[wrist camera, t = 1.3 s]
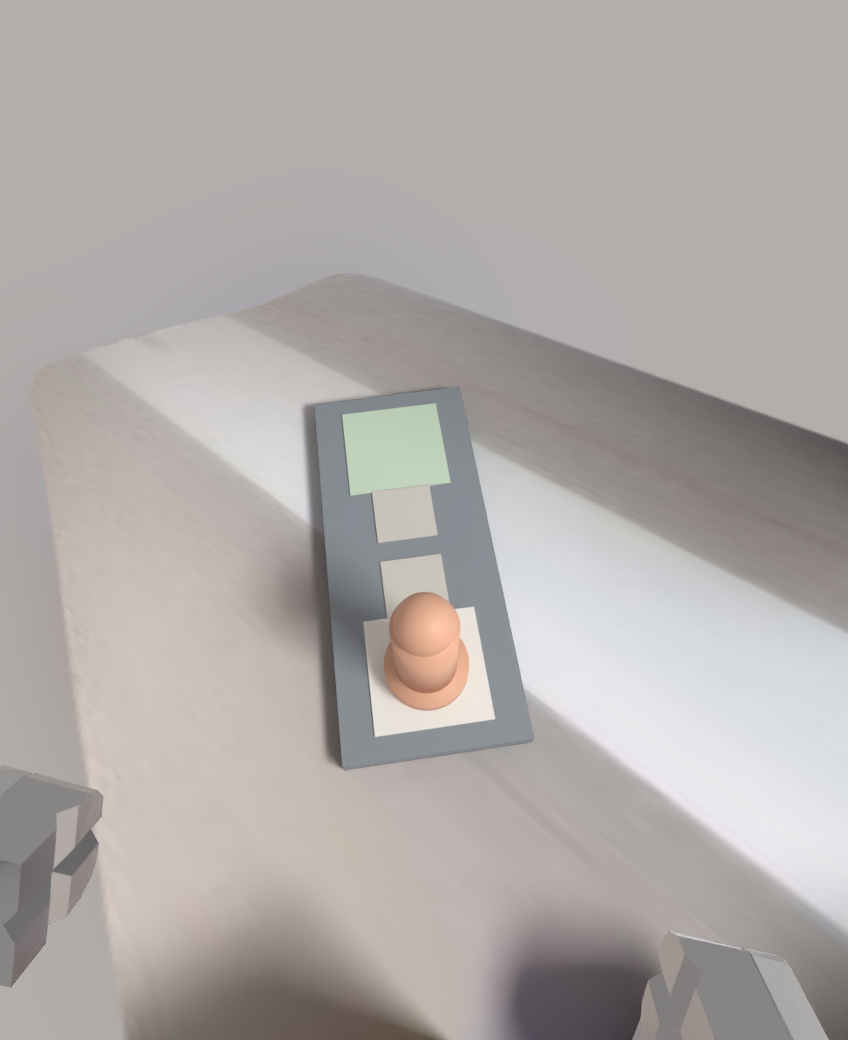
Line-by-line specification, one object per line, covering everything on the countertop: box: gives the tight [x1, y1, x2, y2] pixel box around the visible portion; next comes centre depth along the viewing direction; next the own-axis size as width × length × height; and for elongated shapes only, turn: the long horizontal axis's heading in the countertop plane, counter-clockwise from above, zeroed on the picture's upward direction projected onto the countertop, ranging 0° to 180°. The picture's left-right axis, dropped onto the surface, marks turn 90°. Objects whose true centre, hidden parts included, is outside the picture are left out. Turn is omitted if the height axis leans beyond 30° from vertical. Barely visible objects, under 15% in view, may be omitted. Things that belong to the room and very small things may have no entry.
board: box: [314, 387, 534, 770], centre depth 44 cm, size 11×26×1 cm, turn 8°
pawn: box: [384, 592, 469, 711], centre depth 36 cm, size 5×5×9 cm
